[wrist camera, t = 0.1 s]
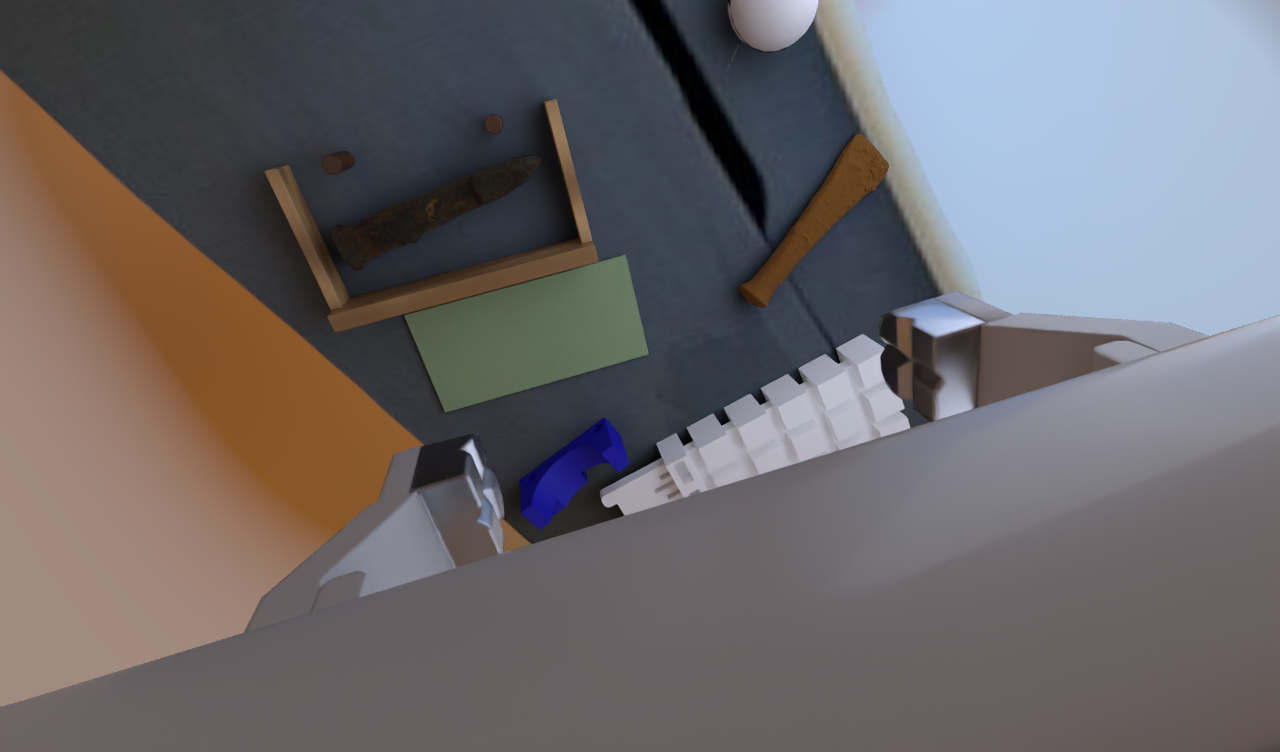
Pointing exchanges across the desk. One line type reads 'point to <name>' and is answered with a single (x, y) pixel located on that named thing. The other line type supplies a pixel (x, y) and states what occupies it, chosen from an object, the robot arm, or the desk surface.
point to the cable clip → (569, 472)
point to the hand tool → (429, 211)
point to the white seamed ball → (771, 22)
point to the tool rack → (442, 285)
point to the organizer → (772, 430)
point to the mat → (529, 333)
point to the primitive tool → (820, 215)
